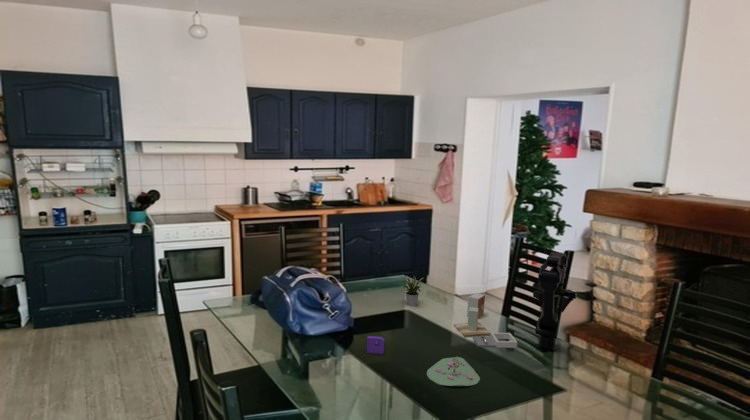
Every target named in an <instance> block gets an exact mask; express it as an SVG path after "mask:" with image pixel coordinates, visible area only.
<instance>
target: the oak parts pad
mask: <svg viewBox="0 0 750 420" xmlns="http://www.w3.org/2000/svg"><path fill="white" fill-rule="evenodd" d="M453 327H454V328H455V329H456V330H457V331H458V332H459V333H460V334H461V335H462V336H463V337H464V338H473V336H479V337H481V335H484V337H490V333H491V332H490V330H488V329H487V328H486V327H485V326H484V325H482V323H481V322H478V324H477V330H476V331H470V330H467V329H468V322H466V323H465V322H464V323H463V322H462V323H453Z"/></svg>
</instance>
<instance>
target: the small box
mask: <svg viewBox="0 0 750 420" xmlns="http://www.w3.org/2000/svg"><path fill="white" fill-rule="evenodd" d="M485 298H486V295H485V294H481V293H477V292H474V293H473V294H472V295H469V296H468V298H467V299H468V300H467V313H466V314H467V315H466V316H467V317H468V313H469V308H470V307H474V308H479V309H478V319H479V318H480V317H483V316H484V313H485V312H484V311H485V301H486V299H485Z"/></svg>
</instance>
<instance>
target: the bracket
mask: <svg viewBox="0 0 750 420" xmlns="http://www.w3.org/2000/svg"><path fill="white" fill-rule="evenodd" d="M366 340H367V341H366V342H367V343H366V353H367V354H382V355H384V353H385V341H386V340H385V338H383V337H382V336H377V335H376V336H375V335H374V336H372V335H367V339H366Z"/></svg>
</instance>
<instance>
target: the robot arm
mask: <svg viewBox="0 0 750 420" xmlns="http://www.w3.org/2000/svg"><path fill="white" fill-rule="evenodd" d="M548 267H551V268H550V269H549V270H547V269H548ZM567 267H568V256H567V254H566V253H561V252H553V251H552V252H550V254H548V256H547V257H546V261H545V262H544V263H543V264H541V265H540V267H539V271H538V276H537V280H538V283H537V287H538V289H541V290H534V291H533V293H532V297H533V298H535V299H536V300H538V302H539V304H540V307H541V310H542V311H541V313H540V317H538V319H537V320H536V324H535V332H534V333H535V335H538V336H539V337H538V343H535V347H537V348H538V349H539V350H540V351H542V352H554V351H557V349H556V348H555V347H554V345H555V344H554V343H555V339H557V337H558V335H559V328H560V321H559V320H558V319H559V315H558V312H557V311H555V298H557V297H558V298H559V297H560V298H561V302H560V303H561V305H560V313H564V311H565V310H566V308H567V307H568V305H570V303H571V302H572V301H574V299H575V300H577V294H576V292H575V291H573V290H572V289H570V288H568V289H566V288H565V289H563V287H565V283H564V282H563V281H564V275H565V272H566V271H567Z"/></svg>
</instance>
